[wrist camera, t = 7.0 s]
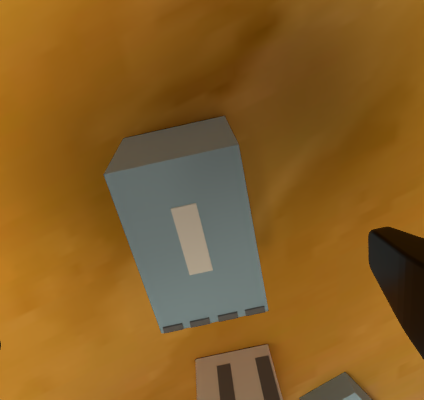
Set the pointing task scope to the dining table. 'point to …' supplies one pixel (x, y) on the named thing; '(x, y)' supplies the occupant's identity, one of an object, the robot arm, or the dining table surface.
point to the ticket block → (238, 376)
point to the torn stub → (337, 390)
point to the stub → (189, 223)
